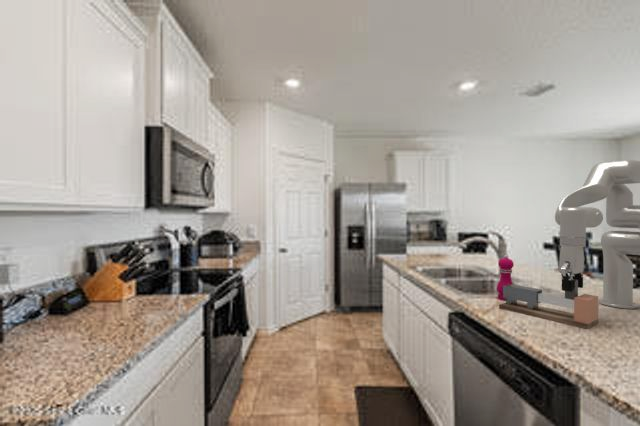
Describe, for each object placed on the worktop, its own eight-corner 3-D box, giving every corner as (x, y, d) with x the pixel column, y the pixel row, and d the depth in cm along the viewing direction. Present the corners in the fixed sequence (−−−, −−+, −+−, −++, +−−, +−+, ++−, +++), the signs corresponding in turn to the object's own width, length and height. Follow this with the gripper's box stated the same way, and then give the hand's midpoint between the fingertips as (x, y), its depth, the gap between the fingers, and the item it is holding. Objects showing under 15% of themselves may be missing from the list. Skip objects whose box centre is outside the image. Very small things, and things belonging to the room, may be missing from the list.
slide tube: (531, 298, 135) (532, 273, 135) (590, 310, 120) (590, 281, 120) (528, 299, 133) (528, 274, 133) (587, 311, 118) (587, 282, 118)
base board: (512, 304, 145) (512, 300, 145) (598, 322, 121) (598, 318, 121) (499, 308, 139) (499, 304, 139) (587, 328, 114) (587, 324, 114)
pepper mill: (499, 300, 151) (499, 255, 151) (494, 296, 158) (495, 253, 158) (517, 301, 149) (517, 256, 149) (511, 297, 156) (512, 254, 156)
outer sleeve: (508, 301, 143) (509, 283, 143) (541, 308, 133) (542, 289, 133) (502, 303, 140) (503, 285, 140) (536, 310, 130) (536, 291, 130)
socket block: (584, 316, 124) (584, 293, 124) (598, 319, 121) (598, 296, 120) (573, 321, 118) (574, 297, 118) (587, 324, 115) (588, 300, 115)
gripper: (569, 239, 131) (569, 284, 131) (550, 242, 121) (550, 290, 121) (593, 241, 125) (593, 287, 125) (575, 244, 115) (575, 294, 115)
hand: (572, 289), depth 123 cm, fingers open, 9 cm apart
